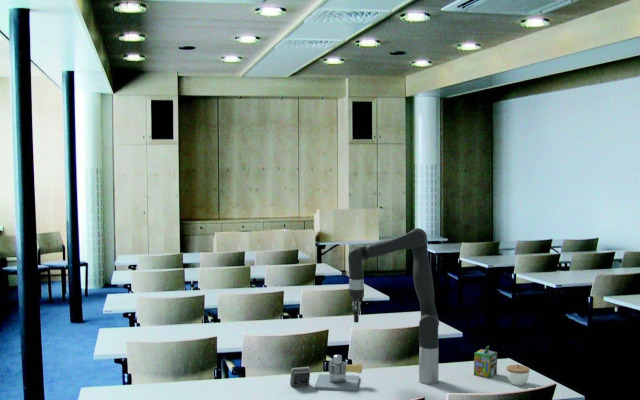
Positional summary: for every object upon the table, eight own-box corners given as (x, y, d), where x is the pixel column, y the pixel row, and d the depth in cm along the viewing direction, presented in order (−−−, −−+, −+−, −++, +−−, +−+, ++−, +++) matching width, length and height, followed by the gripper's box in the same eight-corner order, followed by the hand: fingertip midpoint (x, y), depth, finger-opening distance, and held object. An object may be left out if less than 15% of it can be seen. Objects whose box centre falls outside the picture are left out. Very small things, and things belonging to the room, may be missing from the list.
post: (346, 378, 351) (346, 353, 350) (345, 383, 343) (345, 358, 342) (330, 378, 351) (330, 353, 351) (328, 383, 344) (328, 357, 343)
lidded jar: (533, 384, 346) (534, 365, 346) (517, 388, 341) (518, 369, 340) (517, 378, 355) (517, 360, 355) (501, 382, 350) (501, 363, 349)
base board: (359, 378, 356) (359, 359, 355) (356, 391, 336) (356, 371, 336) (319, 376, 358) (319, 357, 358) (314, 389, 338) (314, 369, 338)
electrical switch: (308, 383, 347) (308, 365, 346) (311, 387, 342) (311, 369, 341) (289, 385, 344) (290, 367, 343) (292, 389, 339) (292, 371, 338)
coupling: (362, 369, 350) (362, 361, 349) (361, 374, 341) (361, 366, 341) (329, 368, 351) (329, 360, 351) (328, 373, 343) (328, 365, 343)
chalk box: (480, 370, 369) (480, 342, 368) (497, 374, 364) (497, 345, 363) (473, 375, 361) (473, 346, 361) (490, 378, 356) (490, 349, 355)
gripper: (363, 290, 351) (363, 325, 352) (364, 285, 365) (364, 319, 366) (348, 290, 352) (347, 324, 353) (350, 285, 365) (349, 319, 366)
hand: (356, 322), depth 359 cm, fingers closed
